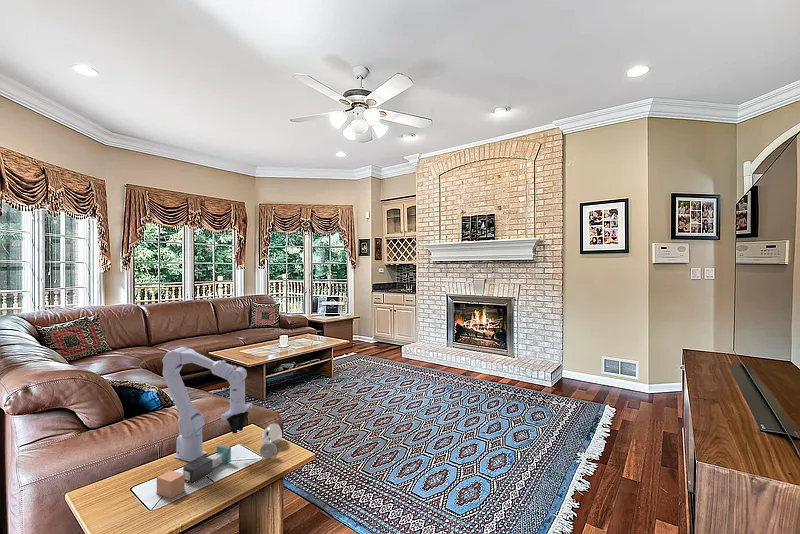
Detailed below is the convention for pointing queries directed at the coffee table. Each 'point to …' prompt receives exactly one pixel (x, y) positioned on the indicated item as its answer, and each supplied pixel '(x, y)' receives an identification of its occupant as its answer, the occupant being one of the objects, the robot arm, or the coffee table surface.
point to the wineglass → (270, 440)
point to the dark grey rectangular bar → (199, 468)
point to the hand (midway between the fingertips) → (237, 431)
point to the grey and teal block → (215, 459)
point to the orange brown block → (170, 483)
